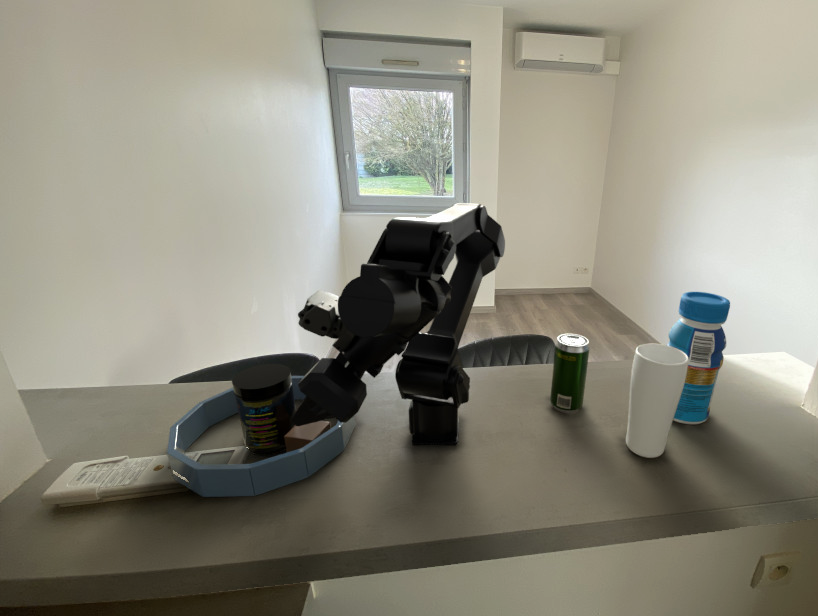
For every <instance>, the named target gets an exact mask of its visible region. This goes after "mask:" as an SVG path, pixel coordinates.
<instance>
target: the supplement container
mask: <svg viewBox="0 0 818 616" xmlns="http://www.w3.org/2000/svg"><path fill="white" fill-rule="evenodd" d="M291 376H292V371H291V369H290V367H289V366H287V365H284V364H280V363H265V364H258V365H253V366H250V367H247V368H246V369H243V370H241V371H240V372H238V373H236V374H235V375H234V376H233V378H232V379H231V385H232V388H233V390H234V395H235V399H236V404H237V409H238V414H237V415H238V419H239V423H240V428H241V434H242V438H243V443H244V444H243V445H244V448H245V449H246V450H247V451H248V453H250V454H252V455H256V456H271V455H275V454H279V453H282V452H283V451H286V444H285V439H284V436H285V435H286V434H287V433H288V432H289V431H290V430H291V429H292V428H293V427H294V426H296V425H294V424H293V423H291V421H290V420H291V418H292V417H293V415H294V414H295V412H296V411H297V408H296V407H297V406H296V401H295V400H296V399H294V393H293V386H292V377H291ZM246 447H248V448H249V449H248V448H246Z"/></svg>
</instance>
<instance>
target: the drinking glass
mask: <svg viewBox="0 0 818 616" xmlns="http://www.w3.org/2000/svg"><path fill="white" fill-rule="evenodd" d="M688 362H689V358H688V356H687V355H686V354H685V353H684V352H683V351H681V350H679V349H677V348H674V347H671V346H668V345H667V344H662V343H656V342H655V343H653V342H652V343H651V342H650V343H648V342H647V343H643V344H642V343H641V344H640V345H637V346H636V348H635V352H634V355H633V361H632V366H631V372H630V382H629V383H630V384H629V397H628V411H627V412H628V413H627V428H626V435H625V444H626V446H627V448H628V449H629V450H630V451H631V452H632V453H634V454H635V455H637V456H639V457H642V458H647V459H655V458H658V457H660V456H661V455H663V454H664V452H665V450H666V446H667V445H666V444H667V440H668V438H669V434H670V430H671V427H672V424H673V419H674V415H675V412H676V409H677V406H678V403H679V400H680V397H681V394H682V391H683V387H684V384H685V379H686V374H687V368H688Z"/></svg>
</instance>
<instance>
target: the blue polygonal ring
mask: <svg viewBox="0 0 818 616" xmlns="http://www.w3.org/2000/svg"><path fill="white" fill-rule="evenodd" d="M304 376H305V375H291V377H292V386H293V393H294V400H304V398H305V397H306V395H305V394H303V393H302V392H301V391H300V390H299V387H298V383H299V382H300V381H301V380H302V379H303V378H304ZM237 413H238V409H237V404H236V399H235V395H234V390H233V387H231V388H228V389H226V390H223V391H221V392H219V393H217V394H215V395H213V396H210V397H208V398H206V399H204V400H201V401H200V402H198V403H197V404H195V405H194V406H193V407H192V408H190V410H188V412H186V413H185V414H184V415H182V417H180V418H179V419H178V420H177V421H176V422H175V423H174V424H172V425H171V426H170V428H169V434H168V440H167V442H168V443H167V448H166V456H167V458H168V461H169V465H170V469H171V471H172V470H174V471H175V472H177V473H178V474H180V475H181V476H183V477H185V478H186V479H187V480H188V481H189V483H188V482H186V481H185V480H183V479H181V478H180V477H178V476H176V475H175V474H173V473H172V476H173V479H174V481H176V482H177V483H179V484H181V485H183V486H184V487H186V488H188V489H190V490H191V491H193V492H194V493H196V494H198V495H199V496H200V497H202V498H219V497H220V498H222V497H224V498H225V497H226V498H227V497H255V496H256V497H257V496H259V495H262V494H265V493H268V492H270V491H273V490H276V489H279V488H282V487H284V486H288V485H291V484H293V483H296V482H299V481H303V480H305V479H308V478H309V477H311V476H313V475H314V474H315V473H316V472H317V471H319V470H320V469H321V468H323V467H325V465H327V464H328V463H329V462H331V461H332V460H333V459H335V458H336V457H337V456H339V455H340V454H341V453H343V452H344V451H345V449H346V447H347V445H348V442H349V441H350V438H351V436H352V434H353V431H354V428H355V427H356V419H355V417H356V416H355V415H354V416H353V417H352V418H351V419H350V420H349V421H348V422H339V421H338V420H337V423H336V424H335V425H334V426H333V427H331V429H330V430H328V431H327V432H325V433H324V434H322V435H321V436H319V437H318V438H316V439H315V440H313V441H312V442H310V443H309V444H307V445H306V446H304V447H303V448H300V449H297V450H294V451H291V452H287V451H286V452H283V453H281V454H278V455H275V456H272V457H268V458H265V459H262V460H258V461H256V462H252V463H220V464H219V463H218V464H217V463H216V464H213V463H211V464H209V463H208V464H207V463H206V464H201V463H200V462H198V461H196V460H195V459H193V458H191V457H189V456H187V455H185V451H187V450H188V448H189V447H190V446H191V445H193V443H194V442H195V441H197V440H198V439H199V437H200V436H201V435H202V434H204V433H205V431H207V430H208V428H210V427H212V426H214V425H216V424H218V423H220V422H222V421H223V420H226V419H228V418H229V417H231V416H234V415H235V414H237Z"/></svg>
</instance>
